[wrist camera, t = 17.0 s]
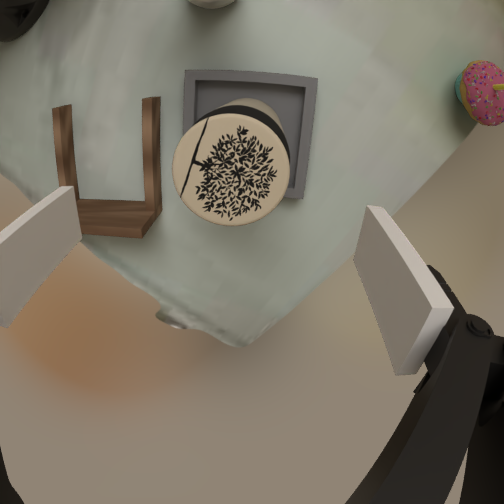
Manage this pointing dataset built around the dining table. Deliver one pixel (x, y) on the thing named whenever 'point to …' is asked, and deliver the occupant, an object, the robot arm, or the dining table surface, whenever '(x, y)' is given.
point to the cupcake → (482, 92)
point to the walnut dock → (114, 211)
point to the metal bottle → (211, 3)
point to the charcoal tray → (268, 91)
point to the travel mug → (233, 163)
